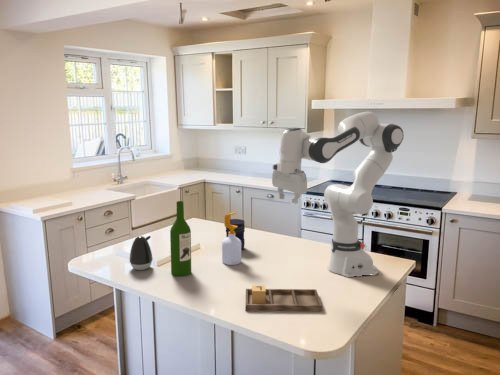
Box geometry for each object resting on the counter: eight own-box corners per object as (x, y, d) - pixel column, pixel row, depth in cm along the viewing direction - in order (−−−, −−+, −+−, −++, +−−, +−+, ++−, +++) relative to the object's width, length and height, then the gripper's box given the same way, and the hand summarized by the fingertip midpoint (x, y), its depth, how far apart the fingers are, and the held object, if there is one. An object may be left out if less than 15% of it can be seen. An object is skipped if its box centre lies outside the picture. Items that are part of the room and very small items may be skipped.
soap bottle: (234, 266, 195) (234, 215, 190) (218, 262, 199) (218, 212, 195) (244, 261, 202) (245, 211, 198) (229, 257, 207) (229, 209, 202)
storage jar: (248, 248, 221) (248, 220, 218) (237, 253, 213) (237, 225, 210) (232, 244, 226) (232, 218, 223) (221, 249, 218) (221, 222, 215)
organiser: (315, 294, 167) (316, 289, 166) (321, 311, 153) (322, 305, 152) (245, 293, 166) (245, 288, 166) (245, 310, 153) (245, 304, 152)
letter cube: (264, 297, 162) (265, 285, 161) (265, 303, 157) (265, 290, 156) (251, 297, 162) (252, 285, 161) (252, 303, 157) (252, 290, 156)
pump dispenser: (157, 268, 192) (156, 236, 189) (137, 274, 185) (136, 241, 182) (145, 262, 199) (144, 231, 196) (125, 268, 191) (124, 236, 189)
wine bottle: (179, 278, 181) (178, 205, 175) (167, 272, 187) (165, 201, 181) (195, 272, 187) (194, 201, 181) (182, 267, 193) (181, 198, 187)
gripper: (312, 171, 163) (309, 205, 166) (282, 164, 181) (280, 195, 183) (299, 171, 160) (297, 206, 163) (270, 164, 178) (268, 196, 180)
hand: (288, 200), depth 173 cm, fingers open, 8 cm apart
